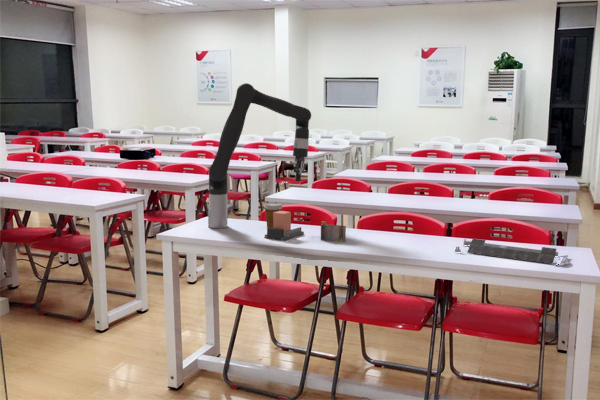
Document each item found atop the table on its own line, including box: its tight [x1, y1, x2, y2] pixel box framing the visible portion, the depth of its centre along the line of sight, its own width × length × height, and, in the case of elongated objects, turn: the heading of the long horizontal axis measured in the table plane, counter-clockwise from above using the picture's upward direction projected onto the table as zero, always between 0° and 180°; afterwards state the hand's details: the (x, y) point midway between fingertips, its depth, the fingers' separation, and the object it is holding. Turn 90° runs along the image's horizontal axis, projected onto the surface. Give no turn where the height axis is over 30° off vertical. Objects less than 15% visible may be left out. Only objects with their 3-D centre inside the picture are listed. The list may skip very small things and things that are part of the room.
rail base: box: [264, 226, 305, 242], centre depth 277 cm, size 17×11×5 cm, turn 147°
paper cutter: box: [454, 238, 570, 266], centre depth 245 cm, size 18×45×6 cm, turn 58°
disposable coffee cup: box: [263, 202, 283, 228], centre depth 299 cm, size 10×10×12 cm
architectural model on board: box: [320, 220, 347, 243], centre depth 269 cm, size 11×3×10 cm, turn 69°
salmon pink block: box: [273, 210, 292, 232], centre depth 275 cm, size 6×6×10 cm
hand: (298, 181), depth 298 cm, fingers closed
